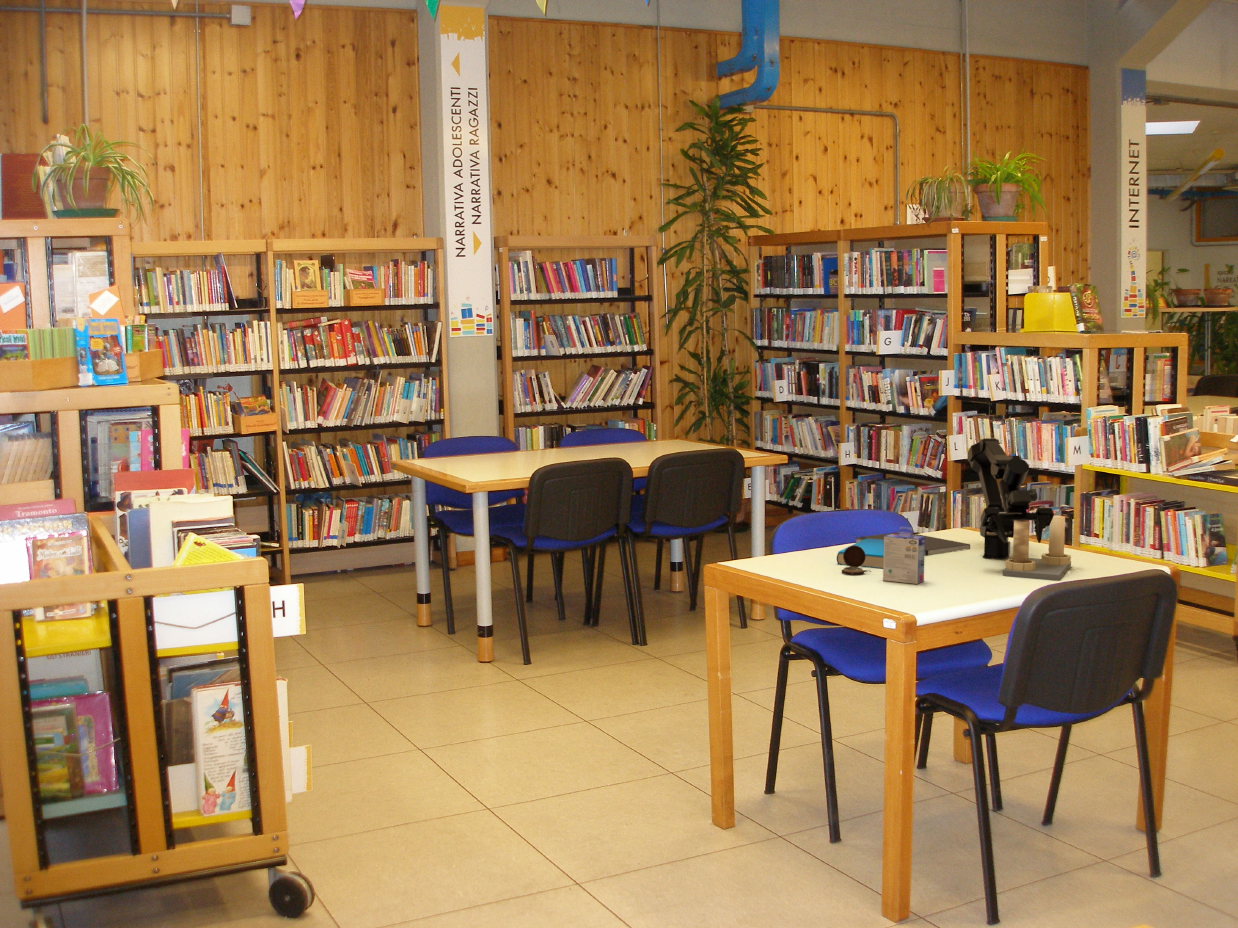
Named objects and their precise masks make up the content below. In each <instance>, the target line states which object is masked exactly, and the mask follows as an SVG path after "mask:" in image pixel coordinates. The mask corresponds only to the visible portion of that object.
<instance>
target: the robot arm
mask: <svg viewBox="0 0 1238 928" xmlns="http://www.w3.org/2000/svg"><path fill="white" fill-rule="evenodd" d="M967 461H968V462H969V464H970V467H971V469H972V470H973V471H974V472H975V473H977V474H978V477H979V481H980V485H981V490H982V493H983V497H984V503H985V506H986V507H984V508H983V511H982V514H981V516H980V527H979V535H980V536H981V537H983V539H984V544H983V545H984V547H983V549H984V550H983V555H982V558H984V559H985V558H986V559H996V560H1007V558H1010V555H1011V541H1009V538H1012V539H1014V521H1016V520H1024V521H1033V524H1034V531H1035V537H1036V540H1037V543H1039V544H1040V543H1041V541H1042V536H1043V531H1044V530H1045V529H1046V528H1047V527H1050V523H1051V521H1052V519H1053V516H1055V512H1054V509H1053V508H1052V507H1049V506H1048V507H1047V506H1045V507H1042V506H1041V507H1037V508H1036V510H1035V512H1028V510H1029V509H1030V503H1032V502H1036V501H1037V500H1038V492H1037V490H1036V488H1029V489H1027V490H1025V489H1024V490H1023V489H1022V487H1021V486H1022V485H1023V484H1025V483H1024V482H1025V480H1026V477H1027V475H1028V473H1029V469H1030V464H1029V463H1028V462H1027V461H1026V460H1025V459H1023V458H1020V455H1011V456H1010V455H1007V453H1006V451H1005V450H1004V448H1003V447H1002V446H1001V444H1000V440H999V439H998V438H993V437H992V438H982V439H979V441H978V442H976V443H974V444H972V445H971V446H970V447H969V448H968V450H967ZM998 480H999V482H998Z"/></svg>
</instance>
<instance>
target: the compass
mask: <svg viewBox="0 0 1238 928" xmlns="http://www.w3.org/2000/svg"><path fill="white" fill-rule="evenodd" d="M852 545H853V544H852ZM849 546H850V547H849ZM849 546H848V548H847V547H846V548H847V549H846V550H845V551H844V554H843V559H844V561H845V563H846V567H844V568H843V569H841V573H842V574H843V575H847V576H861V575H864V574H865V573H872V570H871V569H870V570H869V569H868V570H867V569H863V568H862V567H859V566H861V565H862V564H863V563H864V561H865V559H866V555H865V552H864V550H863V549H862V548H861V547H859V546H855V545H853V546H851V545H849Z"/></svg>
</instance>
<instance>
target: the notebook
mask: <svg viewBox="0 0 1238 928" xmlns="http://www.w3.org/2000/svg"><path fill="white" fill-rule="evenodd" d="M898 532H899V531H897V532H890V533H881V534H873V535H866V536H857V537H855V540H856V543H858V542H860V541H862V540H864V539H866V538H869V539H881V540H884V537H885V536H887V535H889V534H894V535H898ZM912 536H924V537H925V553H924V557H926V556H932V555H938V554H947V553H952V551H953V552H957V551H956V550H960V551H964V550H963V549H966V550H971V544H970V543H966V542H965V543H964V542H960V541H955V540H949V539H944V538H938V537H934V536H929V535H923V534H918V533H913V532H912ZM946 552H947V553H946Z"/></svg>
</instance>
